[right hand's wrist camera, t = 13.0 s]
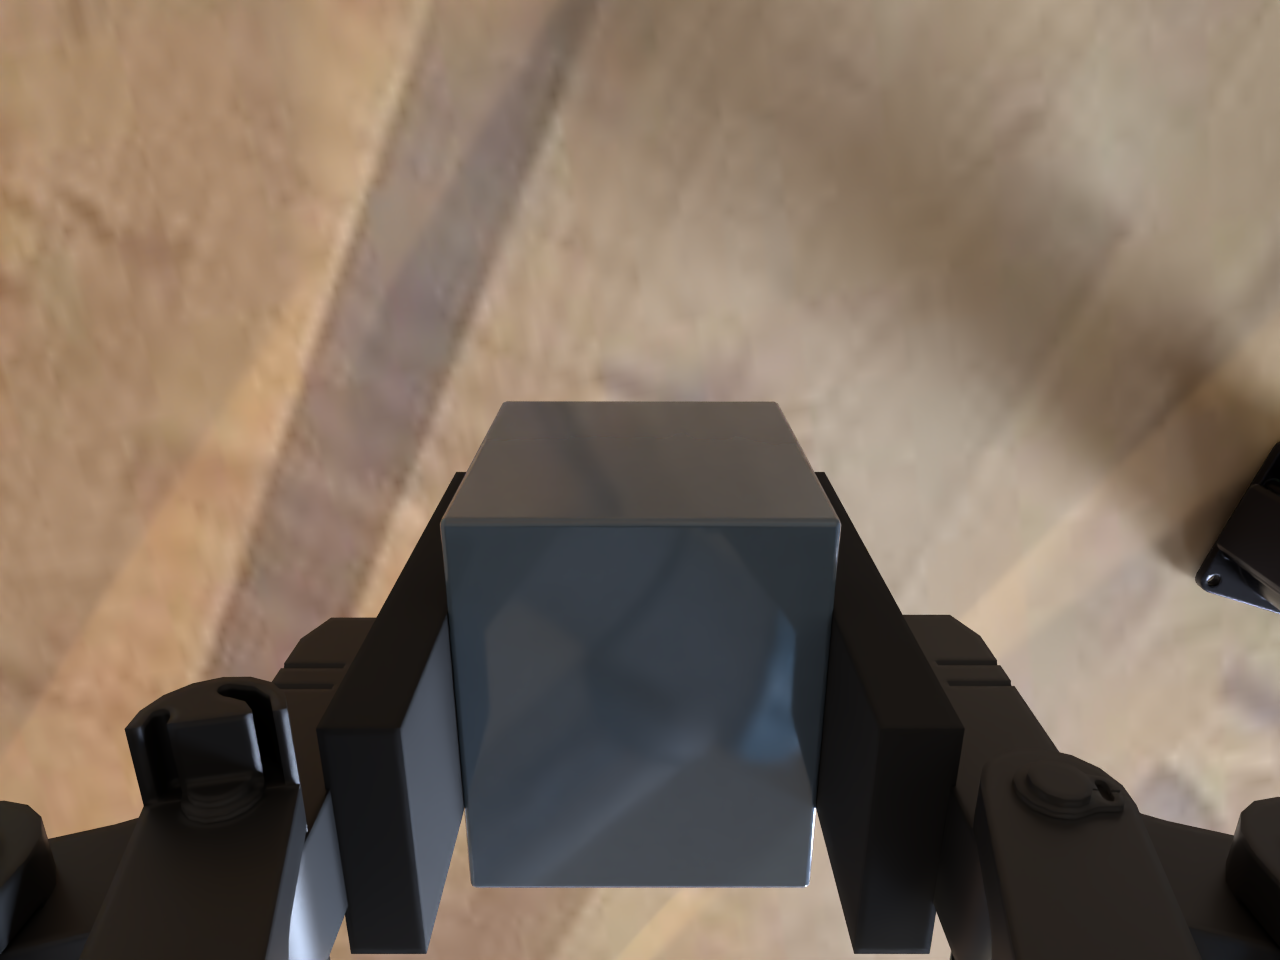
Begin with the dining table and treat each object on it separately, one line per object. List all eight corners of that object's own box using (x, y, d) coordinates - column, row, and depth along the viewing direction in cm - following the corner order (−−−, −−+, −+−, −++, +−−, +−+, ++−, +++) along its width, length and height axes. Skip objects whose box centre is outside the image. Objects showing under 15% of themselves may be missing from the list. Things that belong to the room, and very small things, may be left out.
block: (502, 400, 14) (437, 520, 9) (778, 400, 14) (843, 520, 9) (517, 679, 16) (470, 891, 11) (762, 679, 16) (810, 891, 11)
